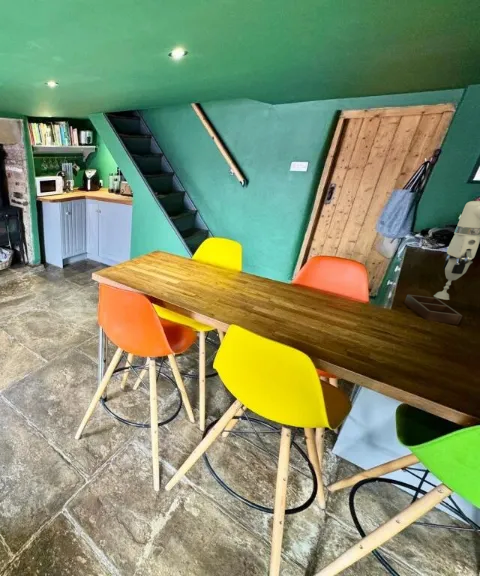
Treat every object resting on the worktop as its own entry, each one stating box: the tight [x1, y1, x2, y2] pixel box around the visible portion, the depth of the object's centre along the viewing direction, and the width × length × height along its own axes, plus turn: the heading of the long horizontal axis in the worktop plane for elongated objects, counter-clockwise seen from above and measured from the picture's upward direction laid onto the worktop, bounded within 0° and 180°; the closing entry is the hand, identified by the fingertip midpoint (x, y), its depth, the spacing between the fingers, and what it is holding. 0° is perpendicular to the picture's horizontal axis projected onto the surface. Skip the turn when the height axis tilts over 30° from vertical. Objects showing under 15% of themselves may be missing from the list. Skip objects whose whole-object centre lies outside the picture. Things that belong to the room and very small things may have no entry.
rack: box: [403, 293, 463, 325], centre depth 130 cm, size 10×19×5 cm, turn 155°
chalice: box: [433, 258, 474, 301], centre depth 135 cm, size 7×7×18 cm
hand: (452, 271), depth 134 cm, fingers closed on chalice, 6 cm apart
